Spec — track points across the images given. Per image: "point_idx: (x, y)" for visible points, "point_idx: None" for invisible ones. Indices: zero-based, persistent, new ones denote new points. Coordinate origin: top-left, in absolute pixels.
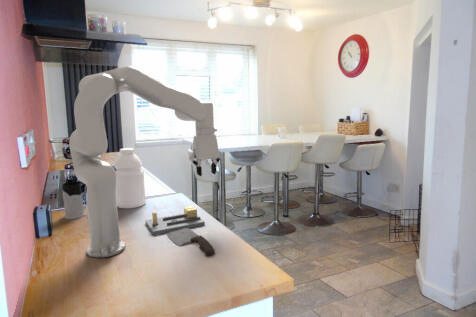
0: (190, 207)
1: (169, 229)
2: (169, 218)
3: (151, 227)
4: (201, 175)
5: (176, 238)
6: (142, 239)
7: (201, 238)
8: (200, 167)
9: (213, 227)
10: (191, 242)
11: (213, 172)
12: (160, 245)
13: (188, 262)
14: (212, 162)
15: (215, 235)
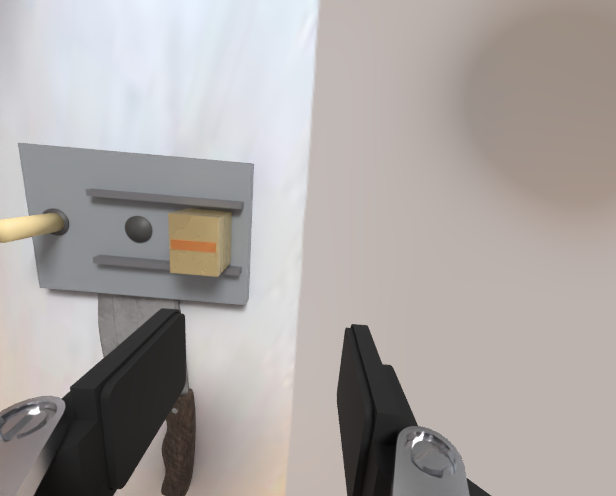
0: (198, 234)
1: (105, 291)
2: (119, 198)
3: (37, 244)
4: (182, 382)
5: None
6: (14, 295)
7: (178, 424)
8: (104, 490)
9: (267, 334)
10: None
11: (339, 393)
12: (66, 367)
13: None
14: (388, 478)
15: (242, 392)
